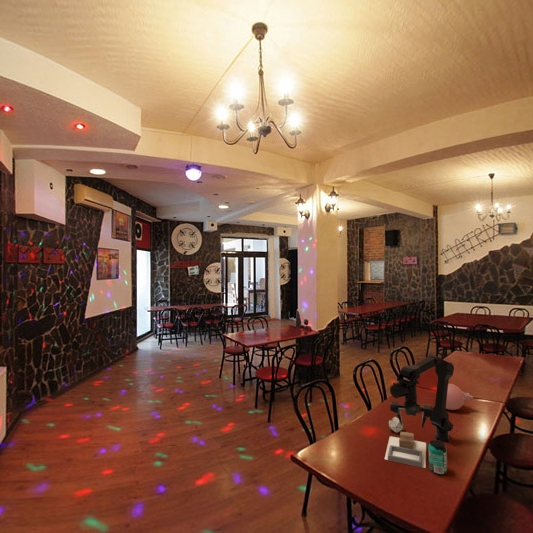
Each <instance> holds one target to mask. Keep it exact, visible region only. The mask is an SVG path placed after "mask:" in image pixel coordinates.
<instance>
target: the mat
mask: <svg viewBox="0 0 533 533" xmlns="http://www.w3.org/2000/svg"><path fill="white" fill-rule="evenodd" d="M399 438H400V437H398V436H397V437H396V436H390V435H389V438H388V443H387V446H386V452H385V456H384V460H387V461H389V462H390V461H391V462H395V463H400V464H404V465H405V464H406V465H409V466H413V467H418V468H422V469H423V468H425V469H426V466H427V465H426V463H427V462H426V461H427V460H426V459H427V442H423V441H418V440H414V446H413V449H408V448H403V447H399Z"/></svg>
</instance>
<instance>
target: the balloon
mask: <svg viewBox="0 0 533 533" xmlns="http://www.w3.org/2000/svg"><path fill="white" fill-rule="evenodd" d="M470 399H474V396H472V395H471V394H470V393H469V392H465V391H462V389H461V388H460V387H459V386H457V385H455V384H454V383H449V382H448V391H447V401H446V410H450V411H457V410H460V409H461V408H462V407H463V406H464V403H465V401H470Z"/></svg>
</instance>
